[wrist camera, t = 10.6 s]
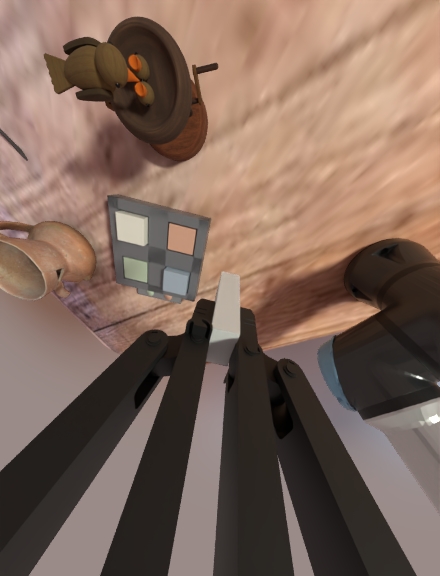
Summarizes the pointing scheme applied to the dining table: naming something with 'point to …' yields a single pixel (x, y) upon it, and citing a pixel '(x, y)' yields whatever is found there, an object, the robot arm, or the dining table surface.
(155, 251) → the keypad
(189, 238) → the terracotta key
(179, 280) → the slate key
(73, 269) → the ceramic jug
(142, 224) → the cream key
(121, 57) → the music box
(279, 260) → the dining table surface
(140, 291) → the plaque
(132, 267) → the sage key
